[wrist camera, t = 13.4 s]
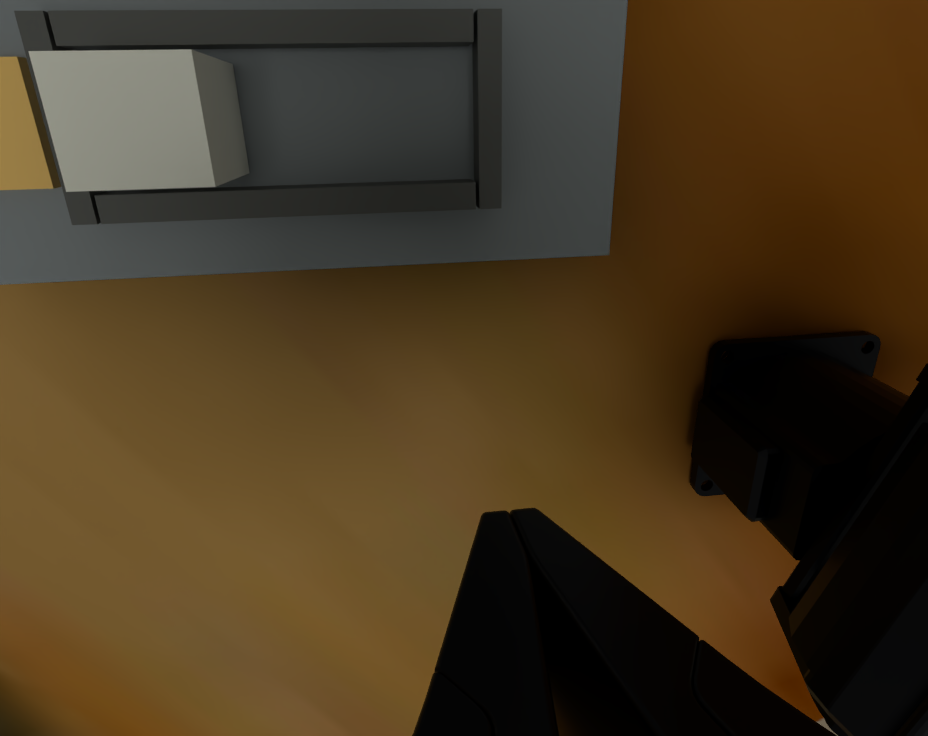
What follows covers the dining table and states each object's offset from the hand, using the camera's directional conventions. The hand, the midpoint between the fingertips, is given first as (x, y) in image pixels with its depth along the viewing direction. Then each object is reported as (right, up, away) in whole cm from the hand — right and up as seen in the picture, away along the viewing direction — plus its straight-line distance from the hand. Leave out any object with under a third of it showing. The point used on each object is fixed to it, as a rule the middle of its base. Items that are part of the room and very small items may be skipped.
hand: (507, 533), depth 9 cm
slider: (-8, +9, +6) cm, 13 cm away
